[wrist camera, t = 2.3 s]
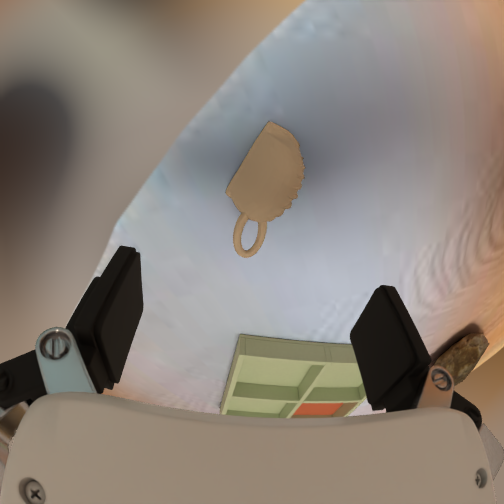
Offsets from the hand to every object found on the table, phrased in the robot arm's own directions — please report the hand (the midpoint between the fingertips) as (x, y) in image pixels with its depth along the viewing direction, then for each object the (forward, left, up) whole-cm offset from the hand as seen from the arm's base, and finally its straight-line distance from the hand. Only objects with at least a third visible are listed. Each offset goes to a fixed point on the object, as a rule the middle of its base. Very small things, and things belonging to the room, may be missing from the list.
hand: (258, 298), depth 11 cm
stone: (-37, +20, -14) cm, 44 cm away
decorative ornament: (0, 0, -14) cm, 14 cm away
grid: (-12, +29, -13) cm, 34 cm away
